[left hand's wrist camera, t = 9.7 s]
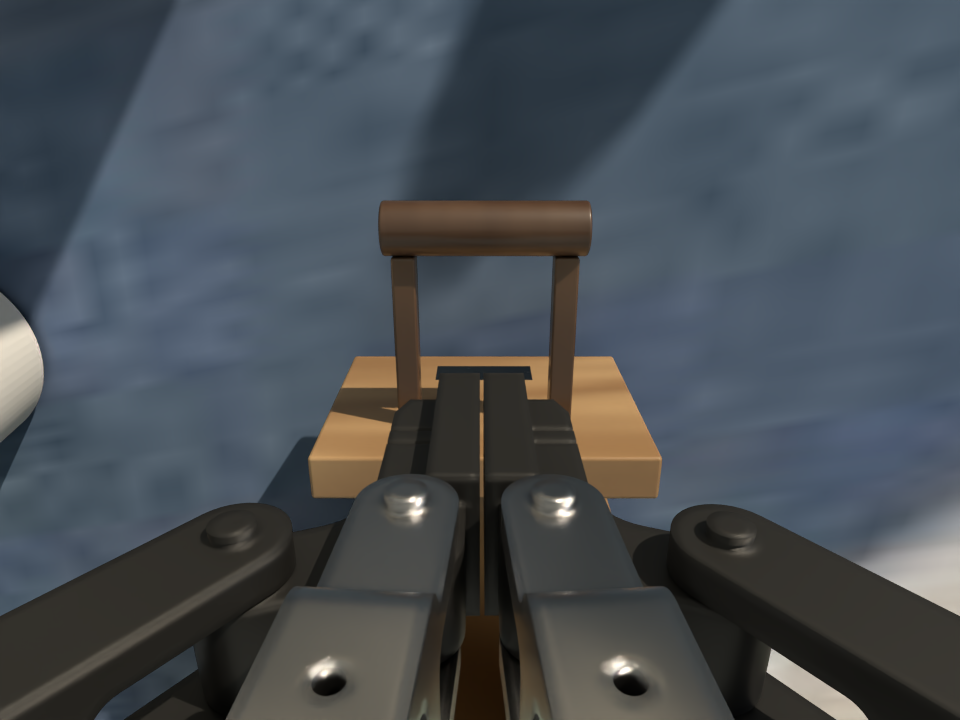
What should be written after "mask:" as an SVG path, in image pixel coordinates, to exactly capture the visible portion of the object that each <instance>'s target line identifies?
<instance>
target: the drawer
mask: <svg viewBox="0 0 960 720" xmlns="http://www.w3.org/2000/svg"><path fill="white" fill-rule="evenodd" d="M378 231H379V243H380V249H381V252H382V255H384V256H392V258H391V278H392V298H393V318H394V338H395V357H355V358H354V361H353V363H352V365H351V367H350V369H349V371H348V373H347V376H346V378H345V380H344V382H343V384H342V386H341V389H340V391H339V393H338V395H337V397H336V399H335V401H334V404H333V406H332V408H331V410H330V412H329V414H328V416H327V419H326V421H325V423H324V425H323V427H322V429H321V432H320V434H319V436H318V438H317V440H316V442H315V444H314V447H313V449H312V451H311V453H310V455H309V458H308V466H309V475H310V484H311V493H312V496H313V498H356V497H357V495H358V494H359V493H360V492H361V490H362V489H364V488H365V487H366V486H368V485H369V484H371V483H373V482H375V481H377V479H378V475H379V471H380V467H381V464H382V460H383V456H384V452H385V448H386V445H387V444H388V437H389V433H390V431H391V425H392V422H393V418H394V414H395V412H396V411H397V410H398V409H400V408H401V407H402V406H403V405H404V404H405V403H407V402H408V401H409V400H410V399H436V397H437V390H438V382H439V375H440V373H480V616H466V629H465V638H464V640H463V643H462V645H461V667H460V675H459V682H458V690H457V698H456V706H455V714H454V720H506V714H505V706H504V698H503V690H502V682H501V675H500V667H499V616H485V615H484V498H483V378H484V373H524V378H525V385H526V391H527V398H528V399H554V400H555V401H556V402H557V403H558V404H559V405H561V406H562V407H563V408H564V409H565V410H566V411H568V412H569V415H570V419H571V422H572V426H573V431H574V433H575V437H576V444H578V448H579V452H580V455H581V459H582V463H583V466H584V470H585V474H586V477H587V481H588V483H589V484H591V485H592V486H594V487H595V488H596V489H598V490H599V492H600V493H601V494H602V495H603V497H604V498H605V500H606V502H607V505H608V507H609V504H608V501H607V498H657V496H658V491H659V482H660V474H661V465H662V458H661V455H660V453H659V451H658V449H657V447H656V445H655V443H654V441H653V439H652V437H651V435H650V433H649V431H648V429H647V427H646V425H645V423H644V421H643V419H642V417H641V415H640V413H639V411H638V409H637V406H636V404H635V402H634V400H633V398H632V396H631V394H630V392H629V390H628V388H627V386H626V384H625V382H624V380H623V378H622V376H621V374H620V372H619V370H618V368H617V366H616V364H615V362H614V360H613V358H612V357H574V352H575V334H576V317H577V299H578V281H579V263H580V260H579V257H578V256H587V255H588V253H589V250H590V246H591V239H592V210H591V205H590V202H589V201H382V202H381V204H380V207H379V216H378ZM417 256H553V268H552V293H551V317H550V342H549V357H420V331H419V303H418V274H417ZM609 509H610V507H609ZM610 512H611V511H610Z"/></svg>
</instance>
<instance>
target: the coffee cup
mask: <svg viewBox="0 0 960 720" xmlns="http://www.w3.org/2000/svg"><path fill="white" fill-rule="evenodd" d="M43 379H44V369H43V360H42V356H41V352H40V348H39V345H38V343H37V340H36V338H35V336H34V334H33V331H32V330H31V328H30V326H29V324H28V323H27V321H26V320H25V318H24V317H23V316H22V314H21V313H20V312H19V311H18V309H17V308H16V307H15V306H14V305H13V304H12V303H11V302H10V301H9V300H8V299H7V298H6V297H5V296H4V295H3V294H2V293H1V292H0V443H1V442H2V441H3V440H4V439H5V438H6V437H7V436H8V435H9V434H11V433H12V432H13V431H14V430H15V429H16V428H17V427H18V426H19V425H20V424H21V423H23V422H24V421H25V420H26V419H27V418H28V417H29V415H30V414H31V413H32V411H33V410H34V408H35V406H36V405H37V403H38V400H39V398H40V395H41V392H42V387H43Z"/></svg>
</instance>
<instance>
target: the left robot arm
mask: <svg viewBox="0 0 960 720" xmlns="http://www.w3.org/2000/svg"><path fill="white" fill-rule="evenodd" d="M483 498H484V615H485V616H499V667H500V675H501V682H502V690H503V698H504V706H505V714H506V720H836V719H834V718H833V717H831V716H830V715H828V714H827V713H826V712H824V711H823V710H821V709H820V708H818V707H817V706H815V705H814V704H812V703H811V702H809V701H808V700H806V699H805V698H804V697H802V696H801V695H799V694H798V693H796V692H795V691H793V690H792V689H790V688H789V687H787V686H786V685H784V684H783V683H782V682H780V681H779V680H777V679H776V678H774V677H773V676H771V675H770V674H768V673H767V672H766V671H767V666H768V662H769V657H770V652H771V648H772V649H774V650H775V651H777V652H778V653H780V654H781V655H783V656H784V657H786V658H787V659H789V660H790V661H792V662H794V663H795V664H797V665H798V666H800V667H801V668H803V669H804V670H806V671H807V672H809V673H810V674H812V675H814V676H815V677H817V678H818V679H820V680H821V681H823V682H824V683H826V684H827V685H829V686H830V687H832V688H834V689H835V690H837V691H838V692H840V693H841V694H843V695H844V696H846V697H847V698H849V699H850V700H851V701H852V702H854V703H855V704H856V705H857V706H858V707H859V708H860V709H861V710H862V711H863V713H864V714H865V715H866V717H867V718H868V720H960V616H958V615H956V614H954V613H952V612H950V611H948V610H946V609H944V608H942V607H940V606H938V605H936V604H934V603H932V602H931V601H929V600H927V599H925V598H923V597H921V596H919V595H917V594H915V593H913V592H911V591H909V590H907V589H905V588H903V587H901V586H899V585H897V584H895V583H893V582H891V581H889V580H887V579H885V578H883V577H881V576H879V575H877V574H875V573H873V572H871V571H869V570H867V569H865V568H863V567H861V566H859V565H857V564H855V563H853V562H851V561H849V560H847V559H845V558H843V557H841V556H839V555H837V554H835V553H833V552H831V551H829V550H827V549H825V548H823V547H821V546H819V545H817V544H815V543H813V542H811V541H809V540H807V539H805V538H803V537H801V536H799V535H797V534H795V533H793V532H791V531H789V530H787V529H785V528H783V527H781V526H779V525H777V524H775V523H773V522H772V521H770V520H768V519H766V518H764V517H762V516H759V515H757V514H755V513H753V512H750V511H747V510H744V509H741V508H737V507H733V506H727V505H717V504H704V505H697V506H693V507H689V508H687V509H685V510H682V511H681V512H680V513H678V514H677V515H676V516H675V517H674V519H673V521H672V523H671V529H670V531H665V530H660V529H655V528H650V527H645V526H641V525H637V524H633V523H630V522H627V521H624V520H622V519H620V518H618V517H615V516H614V515H612V514H611V512H610V509H609V507H608V505H607V502H606V500H605V498H604V497H603V495H602V494H601V493H600V492H599V490H598V489H596V488H595V487H594V486H592V485H591V484H589V483H588V481H587V477H586V474H585V470H584V466H583V463H582V459H581V455H580V452H579V448H578V444H576V437H575V433H574V431H573V426H572V422H571V419H570V415H569V412H568V411H566V410H565V409H564V408H563V407H562V406H561V405H559V404H558V403H557V402H556V401H555V400H554V399H528V398H527V391H526V385H525V378H524V373H484V378H483ZM466 616H480V373H440V375H439V382H438V390H437V397H436V399H410V400H409V401H408V402H407V403H405V404H404V405H403V406H402V407H401V408H400V409H398V410H397V411H396V412H395V414H394V418H393V422H392V425H391V431H390V433H389V437H388V444H387V445H386V448H385V452H384V456H383V460H382V464H381V467H380V471H379V475H378V479H377V481H375V482H373V483H371V484H369V485H368V486H366V487H365V488H364V489H362V490H361V492H360V493H359V494H358V495H357V497H356V498H355V500H354V502H353V505H352V507H351V509H350V512H349V514H348V516H347V518H346V519H343V520H341V521H338V522H335V523H333V524H329V525H325V526H321V527H316V528H311V529H306V530H301V531H296V532H293V531H292V523H291V520H290V518H289V517H288V515H287V514H286V513H285V512H283V511H282V510H281V509H279V508H276V507H274V506H271V505H267V504H261V503H240V504H234V505H228V506H224V507H220V508H217V509H215V510H212V511H209V512H207V513H205V514H202V515H200V516H198V517H196V518H194V519H192V520H191V521H189V522H187V523H185V524H183V525H181V526H179V527H177V528H175V529H173V530H171V531H169V532H167V533H165V534H163V535H161V536H159V537H157V538H155V539H153V540H151V541H149V542H147V543H145V544H143V545H141V546H139V547H137V548H135V549H133V550H131V551H129V552H127V553H125V554H123V555H121V556H119V557H117V558H115V559H113V560H111V561H109V562H107V563H105V564H103V565H101V566H99V567H97V568H95V569H93V570H91V571H89V572H87V573H85V574H83V575H81V576H79V577H77V578H75V579H73V580H71V581H69V582H67V583H65V584H63V585H61V586H59V587H57V588H55V589H53V590H51V591H49V592H47V593H45V594H43V595H41V596H39V597H37V598H35V599H33V600H32V601H30V602H28V603H26V604H24V605H22V606H20V607H18V608H16V609H14V610H12V611H10V612H8V613H6V614H4V615H2V616H0V720H94V719H95V717H96V716H97V714H98V713H99V712H100V710H101V709H102V708H103V707H104V706H105V705H106V703H108V702H109V701H110V700H111V699H112V698H113V697H115V696H116V695H117V694H119V693H120V692H122V691H123V690H125V689H126V688H128V687H130V686H131V685H133V684H134V683H136V682H137V681H139V680H140V679H142V678H143V677H145V676H146V675H148V674H150V673H151V672H153V671H154V670H156V669H157V668H159V667H160V666H162V665H163V664H165V663H166V662H168V661H170V660H171V659H173V658H174V657H176V656H177V655H179V654H180V653H182V652H183V651H185V650H186V649H188V648H190V647H191V646H194V651H195V656H196V660H197V665H198V670H196V671H195V672H193V673H192V674H190V675H189V676H187V677H186V678H184V679H183V680H181V681H180V682H178V683H177V684H176V685H174V686H173V687H171V688H170V689H168V690H167V691H165V692H164V693H162V694H161V695H159V696H158V697H156V698H155V699H154V700H152V701H151V702H149V703H148V704H146V705H145V706H143V707H142V708H140V709H139V710H137V711H136V712H134V713H133V714H132V715H130V716H129V717H127V718H126V719H124V720H454V714H455V706H456V698H457V690H458V682H459V675H460V667H461V645H462V643H463V640H464V638H465V629H466Z"/></svg>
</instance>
